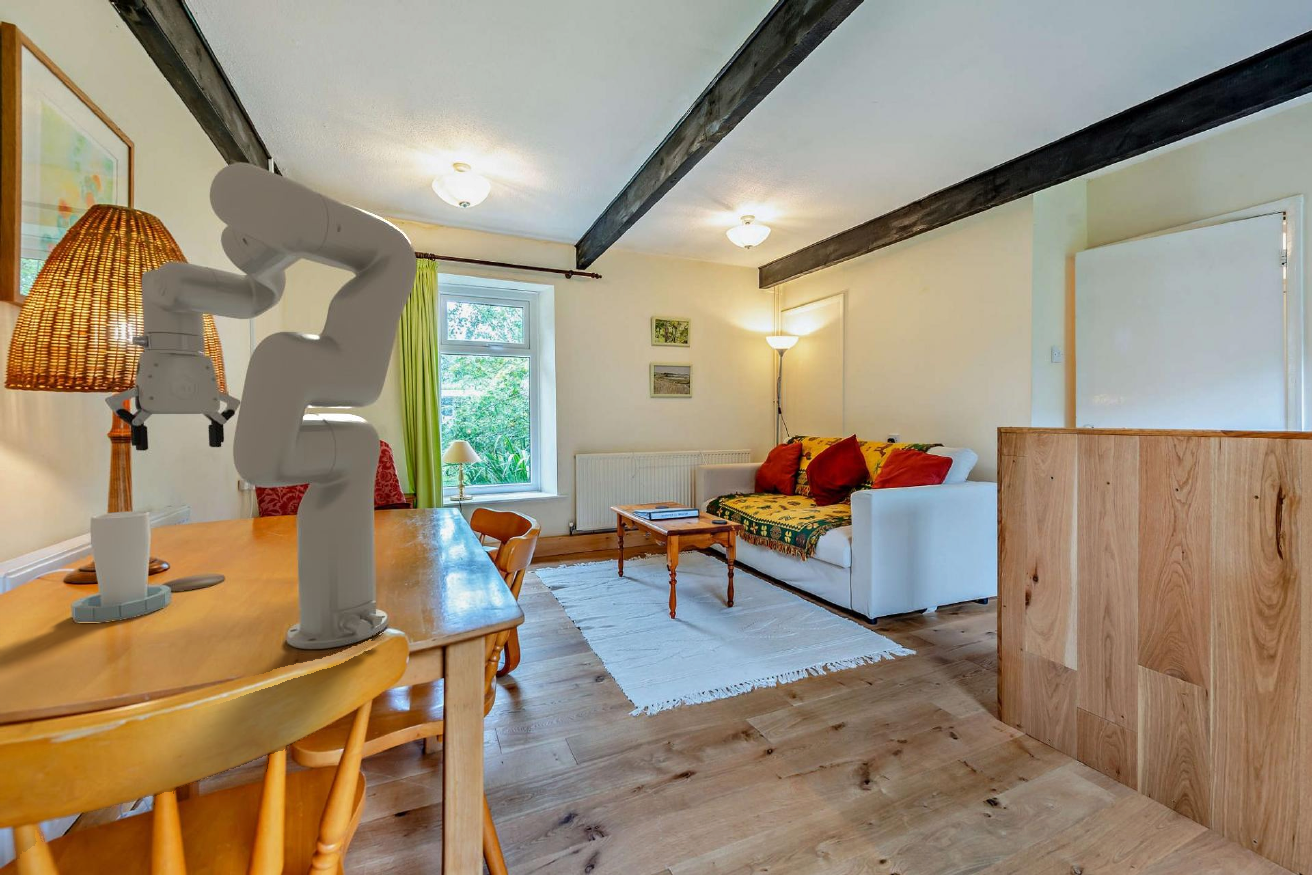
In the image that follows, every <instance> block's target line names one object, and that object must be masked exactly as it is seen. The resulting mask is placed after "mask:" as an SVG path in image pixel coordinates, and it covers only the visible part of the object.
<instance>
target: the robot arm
mask: <svg viewBox="0 0 1312 875" xmlns="http://www.w3.org/2000/svg"><path fill="white" fill-rule="evenodd" d="M209 188H210V189H209V201H210V205H211V208H212V210H213V212H214V214H215V215H216V217H217V218H218V219H219V220H220V221H222V223H224V224H225V225H226V227H224V229H223V230H222V232H221V234H220V235H221V236H220V242H221V246H222V250H223V251H224V253H225V255H226V257H227V258H228V259H229V261H231V263H232V264H233V265H234V266H235V267H236V268H237V269H239V270H240V271H242V272H243V273H244V274H245V275H243V274H238V273H233V272H230V271H225V270H221V269H218V268H217V269H216V268H213V267H212V268H211V267H208V266H201V265H197V264H193V263H187V262H184V261H175V260H174V261H168V262H165V263H163V264H161V265H160V266H159V267H158V268H157V269H152V270H151V269H150V270H147V271H146V272H144V273H143V274H142V277H141V293H142V295H141V297H142V299H141V300H142V312H143V313H142V314H143V315H142V318H143V333H144V334H142V335H141V336H140V335H139V336H133V337H132V338H131V339H132V341H131V342H132V345H133V346H139V347H141V348H143V351H144V352H140V353H139V357H138V359H137V360H138V361H137V366H136V370H135V371H136V372H135V381H134V382H135V383H134V387H133V388H130V389H128V390H125V391H121V392H119V393H117V394H112V395H111V396H107V397H105V399H104V402H105V403H106V404H107V405H108V407H109V408H110V409H111V411H112V412H113V413H114V415H115V416H117V417H118V418H119V419H120V420H122V421H123V422H125V423H126V424H127V425H128V426H130V441H131V442H130V443H131V445H132V447H134V446H135V450H136V451H147V450H149V438H148V426H146V425H145V422H146V421H147V420H148V419H149V418H150V417H151V416H152V415H201V414H202V415H203V416H204V417H205V418H206V419H207V420H209V421H210V424H209V425H207V426H208V444H209V445H208V446H209V447H210V448H221V447H222V443H224V442H225V433H224V432H225V431H224V430H225V429H224V425H226V424H227V422H228V421H229V420H230V419H231V418H233V416H235V413H236V411H237V410H238V408H239V410H238V416H237V420H236V427H235V430H234V439H233V445H232V449H233V450H232V456H233V458H232V459H233V463H234V467H235V469H236V471H237V474H238V475H239V477H240V478H241V479H242V480H243V481H245V482H246V483H247V484H248V485H250V486H254V487H258V488H280V487H281V488H282V487H291V486H297V485H298V486H300V485H307V484H309V486H308V488H307V489H306V491H305V492H304V495H303V496H302V499H301V500H300V503H299V506H298V508H297V514H296V542H297V543H296V544H297V549H296V550H297V572H298V573H297V575H298V576H297V577H298V580H297V582H298V608H299V611H298V613H299V621H298V622H297V623H295V624H294V625H292V626H291V627H290V628H289V629H288V630H287V632H286V642H287V644H288V645H290V646H291V647H294V648H297V649H303V650H322V649H331V648H337V647H342V646H346V645H347V646H348V645H352V644H354V643H357V642H361V641H363V640H366V639H369V638H371V637H373V636H375V635H377V634H379V633H380V632H382V631H383V630H384V629H386V627H387V626H388V623H389V615H388V614H387V613H386V612H385V611H383V610H381V609H377V593H376V592H377V588H376V555H375V554H376V553H375V551H376V547H375V546H376V545H375V503H374V502H375V487H376V486H375V485H376V478H377V477H376V476H377V471H378V465H379V461H380V455H381V440H380V436H379V433H378V430H376V428H375V426H374V425H372V424H371V422H369V421H368V420H366V419H365V418H362V417H360V416H357V415H353V414H349V413H336V412H332V413H331V412H330V413H329V412H327V413H326V412H325V413H324V412H322V413H321V412H311V413H306V412H307V410H308V409H309V408H311V409H312V408H313V409H314V408H315V409H355V408H357V409H358V408H364V407H368V406H371V405H373V404H375V402H377V401H378V399H379V398H380V396H381V395H382V391H383V388H384V385H385V382H386V377H387V373H388V369H389V365H390V360H391V357H392V354H393V349H394V344H395V342H396V336H397V331H398V326H399V323H400V320H401V317H402V314H403V312H404V309H405V306H406V305H407V303H408V299H409V297H410V296H411V293H412V290H413V288H414V285H415V282H416V281H415V280H416V276H417V256H416V253H415V250H414V248H413V245H412V243H411V241H410V239H409V238H408V237H407V235H406V234H405V233H404V232H403V231H402V230H400V229H399V228H398V227H397V226H395V225H394V224H392V223H391V222H389V221H387V220H385V219H383V218H382V217H380V216H378V215H375V214H373V213H371V212H368V211H365V210H363V209H360V208H359V207H356V206H354V205H351V204H348V203H346V202H343V201H340V200H338V199H335V198H333V197H330V196H327V195H325V194H323V193H320V192H318V191H316V190H314V189H312V188H311V187H308V186H307V185H304V184H302V183H299V182H297V181H294V180H293V179H290V178H287V177H286V176H282V175H280V174H277V173H274V172H272V171H269V170H267V169H265V168H263V167H260V166H257V165H255V164H252V163H249V162H234V163H231V164H228V165H227V166H225V167H223V168H221V169H220V171H219V170H218V172H217V173H216V174H215V176H214V178H213V179H212V182H211V185H210V187H209ZM301 259H303V260H306V261H311V262H314V263H318V264H322V265H324V266H329V267H333V268H335V269H336V268H337V269H341V270H345V271H347V272H351V273H353V274H354V275H355V276H354V277H353V278H350V280H348V281H347V282H346V283H345V284H343V286H341V287H340V289H338V291H337V292H336V293H335V294H334V295H333V297H332V298H331V300H330V301H329V302H330V303H329V306H328V309H327V315H326V319H325V323H324V326H323V329H322V331H321V333H320V334H312V333H306V332H299V331H277V332H275V333H272V334H270V335H267V336H266V337H265V338H264V339H262V340H261V341H260V343H258V345H256V348H255V349H254V350H253V352H252V354H251V357H250V359H249V362H248V365H247V369H246V374H245V378H244V385H243V390H242V393H241V394H242V395H241V399H238V398H235V397H233V396H231V395H229V394H226V393H224V392H222V391H220V390H219V383H218V378H217V372H216V368H215V364H214V361H213V358H212V357H211V356H206V349H205V348H206V347H205V345H206V344H205V324H204V315H211V316H218V317H225V318H232V319H238V320H249V319H253V318H257V317H259V316H261V315H262V314H264V313H266V312H267V311H269V310H270V309H272V308H273V307H276V305H277V304H279V302H280V301H281V299H282V297H283V295H284V293H285V287H286V282H287V281H286V280H287V278H286V276H287V275H286V271H285V270H286V269H288V268H289V267H291V266H293V264H295V263H297V262H298V261H300V260H301ZM133 398H134V406H135V409H136V410H137V411H135V413H132V412H130V411H129V410H128V409H126V408H125V407H124V405H123V402H125V401H127V400H130V399H133ZM221 402H223V403H225V404H226V408H225V410H223V411H222V412H219V411H220V409H221V408H220V407H221ZM379 631H380V632H379ZM378 632H379V633H378ZM376 633H377V634H376ZM372 635H373V636H372Z"/></svg>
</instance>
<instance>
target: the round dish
mask: <svg viewBox="0 0 1312 875" xmlns="http://www.w3.org/2000/svg"><path fill="white" fill-rule="evenodd" d="M147 596H148V597H146V598H143V599H139V600H135V601H130V602H125V603H121V604H112V605H104V606H101V605H100V593H99V592H98V593H94V594H91V595H87V596H85V597H84V596H83V597H81V598H79V599H78V600H75V601H74V602H72V603H70V607H71V608H70V610H71V617H72V619H73V620H74V621H76V622H106V621H112V620H120V619H124V618H130V619H133V618H132V617H134V616H138V615H142V616H144V615H143V614H146V613H149V614H152V613H154V612H153V611H155V612H157V611H156V610H158V609H160V610H162V609H161V608H163V607H165V608H167V607H168V606H169V605H170V604H171V600H172V592H171V588H170V587H168V586H166V585H162V584H147ZM169 603H170V604H169ZM167 605H168V606H167ZM163 609H164V608H163ZM158 611H159V610H158ZM151 612H152V613H151ZM146 615H147V614H146ZM134 618H135V617H134ZM73 620H72V621H73ZM74 621H73V622H74ZM120 621H121V620H120Z"/></svg>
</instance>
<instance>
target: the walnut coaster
mask: <svg viewBox="0 0 1312 875" xmlns="http://www.w3.org/2000/svg"><path fill="white" fill-rule="evenodd" d="M225 579H226V576H225V575H224V574H221V573H220V574H218V573H206V574H205V573H204V574H197V575H191V576H184V577H180V578H176V579H172V580H169V581H167V582H164V583H163V584H161V585H166V586H168V587H170V588H171V591H180V590H189V591H193V590H192V589H195V590H198V589H197V588H201V587H205V588H209V587H211V586H210V585H213V586H216V585H218V583H219V584H221V583H223V582H225ZM208 586H209V587H208ZM201 589H202V588H201ZM180 592H181V591H180Z"/></svg>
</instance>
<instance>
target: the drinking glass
mask: <svg viewBox="0 0 1312 875" xmlns="http://www.w3.org/2000/svg"><path fill="white" fill-rule="evenodd" d="M151 530H152V529H151V517H150V512H149V511H146V510H128V511H117V512H110V513H109V512H108V513H102V514H98V515H94V516H91V517H90V544H91V551H92V557H93V562H94V567H95V574H96V580H97V586H98V591H99V592H98V593H100V605H101V606H104V605H112V604H121V603H125V602H130V601H135V600H139V599H143V598H146V597H148V596H147V585H149V584H148V582H149V568H150V567H149V566H150V556H151V555H150V552H151V541H152V540H151V539H152V538H151V537H152V532H151Z"/></svg>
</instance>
